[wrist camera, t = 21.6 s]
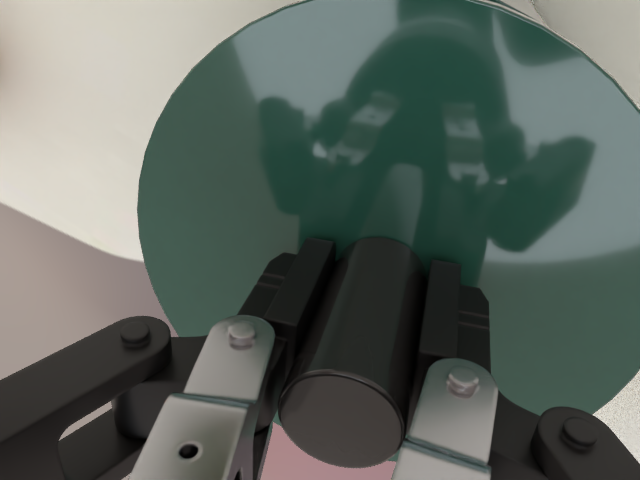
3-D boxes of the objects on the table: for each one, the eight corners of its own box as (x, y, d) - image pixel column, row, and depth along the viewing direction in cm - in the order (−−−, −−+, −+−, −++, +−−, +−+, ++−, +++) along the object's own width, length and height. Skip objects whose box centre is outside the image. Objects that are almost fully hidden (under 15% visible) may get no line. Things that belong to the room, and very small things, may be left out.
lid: (249, -139, 12) (66, -189, 6) (821, 171, 12) (1086, 361, 7) (111, 308, 19) (-26, 453, 14) (469, 496, 19) (465, 708, 14)
